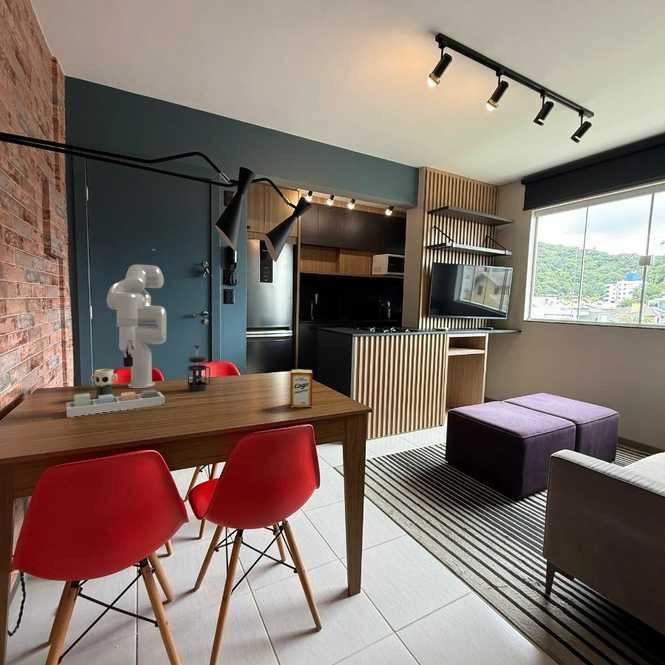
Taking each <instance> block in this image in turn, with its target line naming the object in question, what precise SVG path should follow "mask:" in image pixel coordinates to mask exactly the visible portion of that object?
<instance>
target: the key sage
mask: <svg viewBox="0 0 665 665" xmlns="http://www.w3.org/2000/svg"><path fill="white" fill-rule="evenodd" d="M90 400H91V394H90V392H85V393H84V392H83V393H76V394H73V402H74V406H75V407H79V406H88V405H90Z"/></svg>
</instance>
